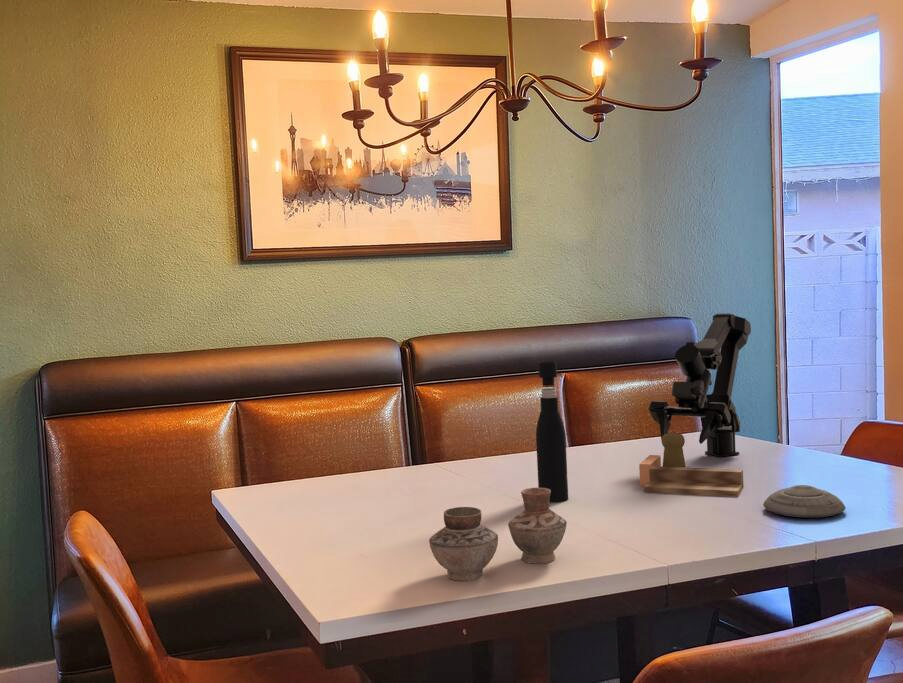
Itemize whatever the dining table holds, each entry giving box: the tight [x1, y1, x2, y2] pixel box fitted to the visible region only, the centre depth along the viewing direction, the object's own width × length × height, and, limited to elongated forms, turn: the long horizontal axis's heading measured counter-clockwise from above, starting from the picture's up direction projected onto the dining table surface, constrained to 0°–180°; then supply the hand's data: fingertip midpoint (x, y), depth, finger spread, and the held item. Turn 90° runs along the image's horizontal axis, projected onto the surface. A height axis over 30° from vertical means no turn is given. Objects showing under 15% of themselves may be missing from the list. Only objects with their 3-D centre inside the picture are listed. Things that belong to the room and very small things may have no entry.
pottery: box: [428, 487, 568, 582], centre depth 151 cm, size 11×25×12 cm, turn 119°
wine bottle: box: [535, 360, 569, 504], centre depth 197 cm, size 6×6×30 cm
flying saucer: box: [762, 484, 846, 519], centre depth 177 cm, size 15×15×6 cm
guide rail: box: [638, 454, 745, 498], centre depth 204 cm, size 22×17×5 cm
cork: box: [661, 432, 687, 467], centre depth 210 cm, size 6×6×11 cm
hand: (681, 441), depth 214 cm, fingers open, 9 cm apart
